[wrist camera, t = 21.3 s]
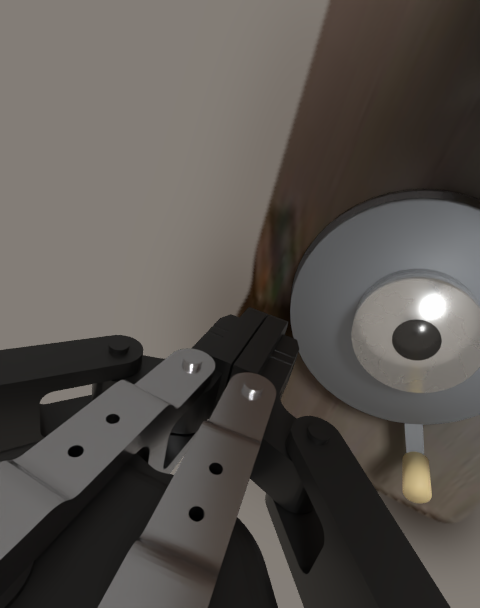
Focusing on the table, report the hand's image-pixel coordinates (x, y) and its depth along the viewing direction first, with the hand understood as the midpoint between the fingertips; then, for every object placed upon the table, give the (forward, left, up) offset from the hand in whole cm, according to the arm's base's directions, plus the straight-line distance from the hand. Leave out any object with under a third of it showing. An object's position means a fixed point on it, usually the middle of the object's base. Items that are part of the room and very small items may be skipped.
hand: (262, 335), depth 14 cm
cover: (+7, +9, -22) cm, 24 cm away
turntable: (+9, +10, -24) cm, 27 cm away
